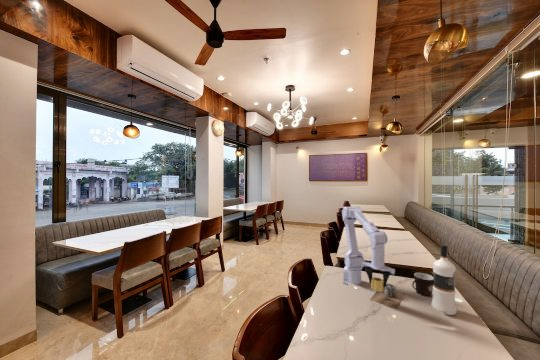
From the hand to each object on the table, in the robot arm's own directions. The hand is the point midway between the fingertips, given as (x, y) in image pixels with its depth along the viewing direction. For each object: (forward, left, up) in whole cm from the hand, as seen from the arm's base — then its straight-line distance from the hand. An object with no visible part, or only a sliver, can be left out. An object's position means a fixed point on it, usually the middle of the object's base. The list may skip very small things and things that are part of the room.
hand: (377, 284), depth 112 cm
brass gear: (0, 0, -2) cm, 2 cm away
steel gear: (+3, +9, -8) cm, 13 cm away
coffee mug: (+15, +22, -9) cm, 28 cm away
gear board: (+3, +7, -9) cm, 12 cm away
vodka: (+25, +13, -9) cm, 30 cm away
